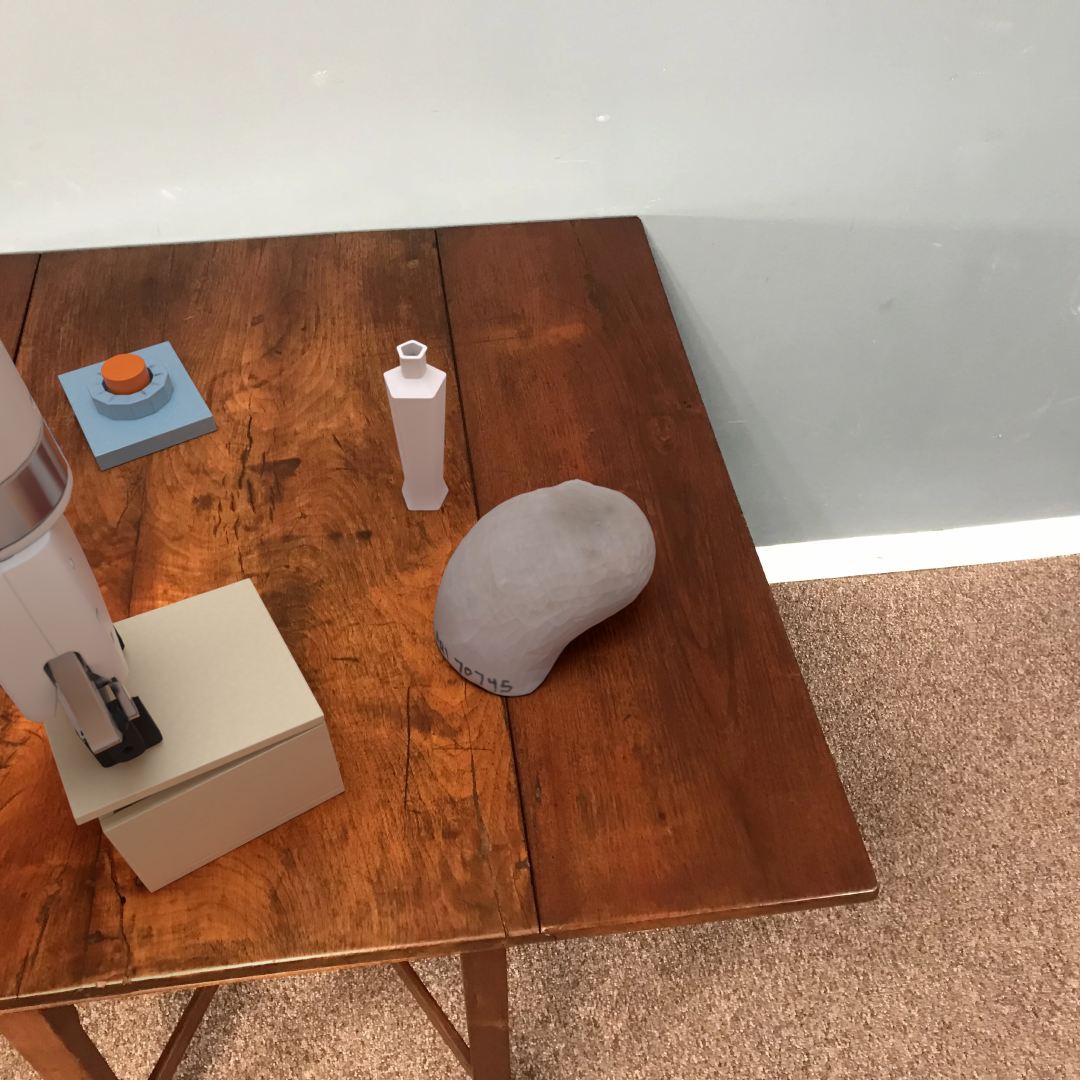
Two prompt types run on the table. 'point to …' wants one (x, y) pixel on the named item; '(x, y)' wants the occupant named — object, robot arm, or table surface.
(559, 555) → the grey rounded lump
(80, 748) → the lid
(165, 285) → the table surface
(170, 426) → the box
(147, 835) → the chest
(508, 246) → the table surface
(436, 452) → the perfume bottle
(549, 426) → the table surface
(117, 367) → the button
